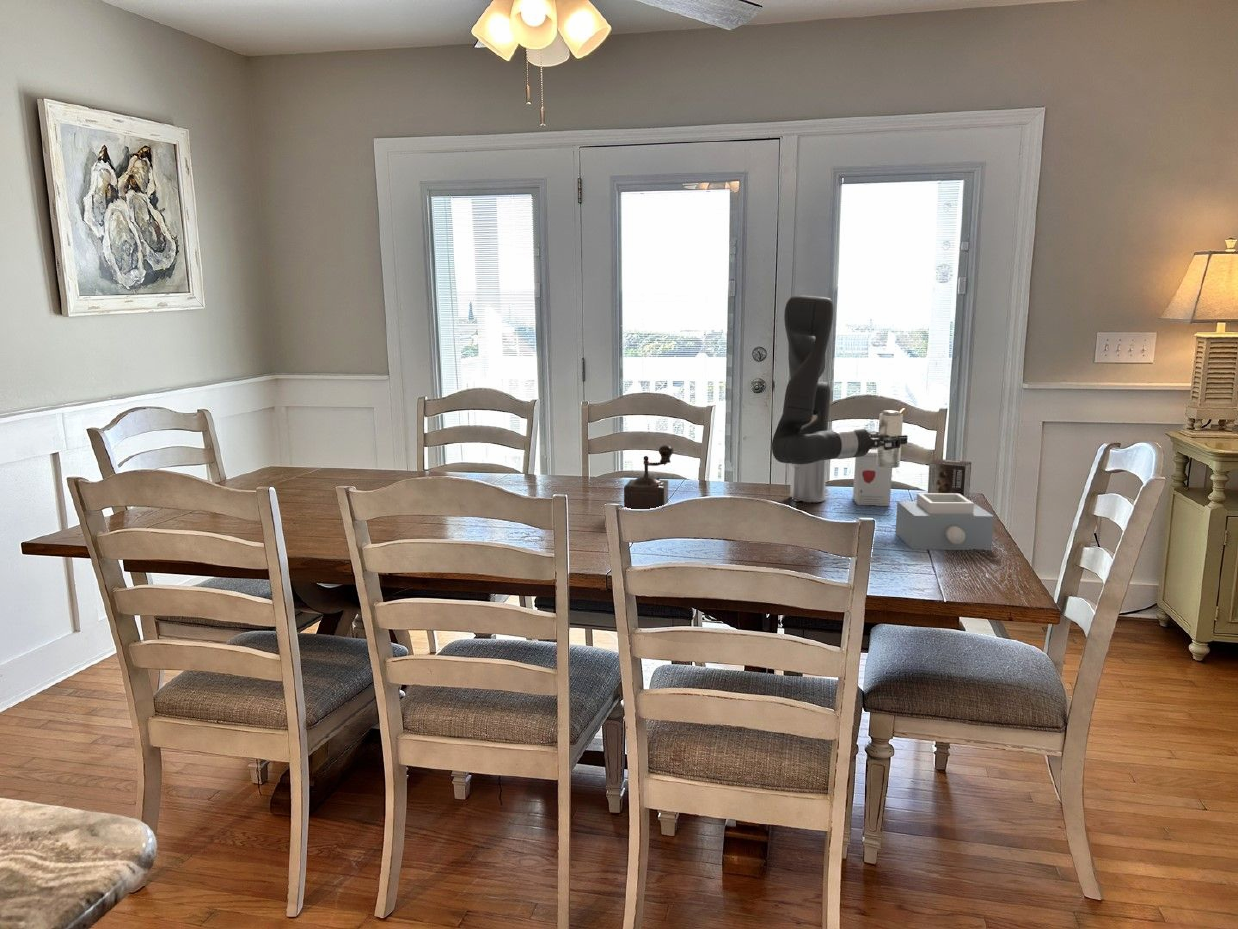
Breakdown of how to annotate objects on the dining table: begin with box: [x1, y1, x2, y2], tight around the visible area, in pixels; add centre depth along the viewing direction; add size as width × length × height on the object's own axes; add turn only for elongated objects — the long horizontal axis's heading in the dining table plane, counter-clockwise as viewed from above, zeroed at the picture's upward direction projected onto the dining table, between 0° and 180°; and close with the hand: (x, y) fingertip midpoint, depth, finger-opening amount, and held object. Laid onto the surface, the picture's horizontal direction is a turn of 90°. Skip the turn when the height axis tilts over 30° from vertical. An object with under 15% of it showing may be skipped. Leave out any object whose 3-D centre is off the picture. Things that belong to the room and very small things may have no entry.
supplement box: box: [852, 449, 893, 507], centre depth 254 cm, size 9×9×15 cm
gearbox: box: [894, 492, 995, 551], centre depth 215 cm, size 18×17×10 cm
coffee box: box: [927, 458, 972, 500], centre depth 231 cm, size 9×6×16 cm
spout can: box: [876, 407, 907, 469], centre depth 230 cm, size 7×6×14 cm
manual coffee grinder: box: [623, 445, 674, 509], centre depth 238 cm, size 16×11×18 cm
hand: (896, 437), depth 231 cm, fingers closed on spout can, 5 cm apart
